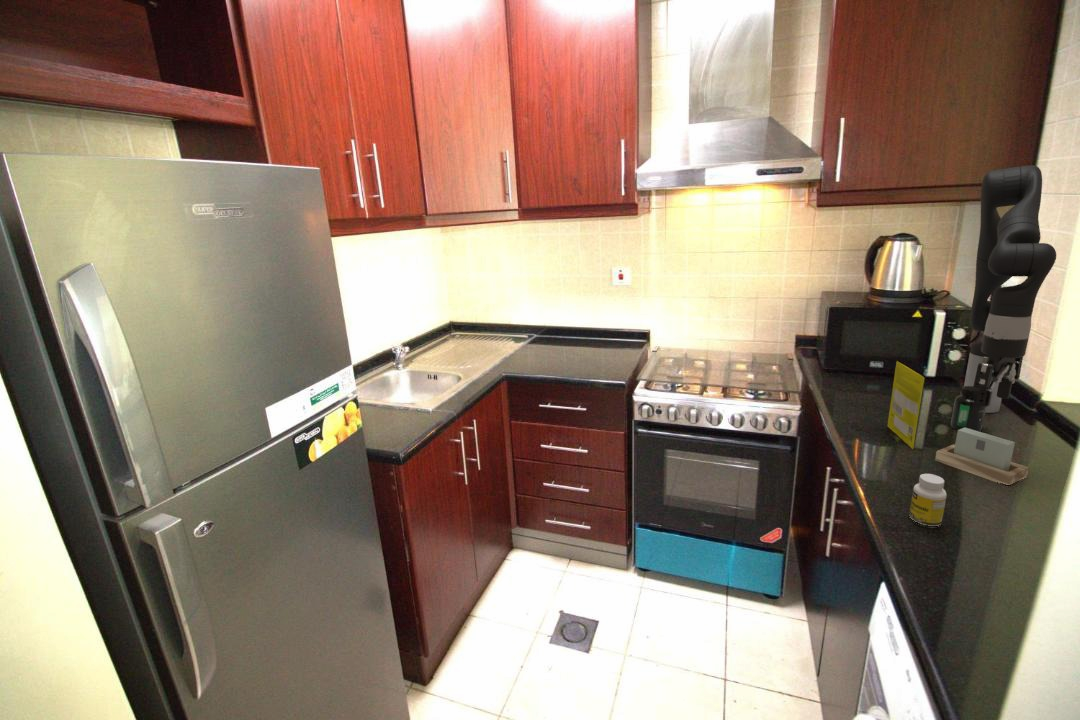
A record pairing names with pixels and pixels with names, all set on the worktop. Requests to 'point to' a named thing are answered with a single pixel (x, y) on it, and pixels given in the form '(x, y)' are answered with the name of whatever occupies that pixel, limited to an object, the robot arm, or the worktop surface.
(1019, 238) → the robot arm
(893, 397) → the food package
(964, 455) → the door panel
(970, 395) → the supplement bottle
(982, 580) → the worktop surface
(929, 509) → the supplement bottle
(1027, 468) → the track
